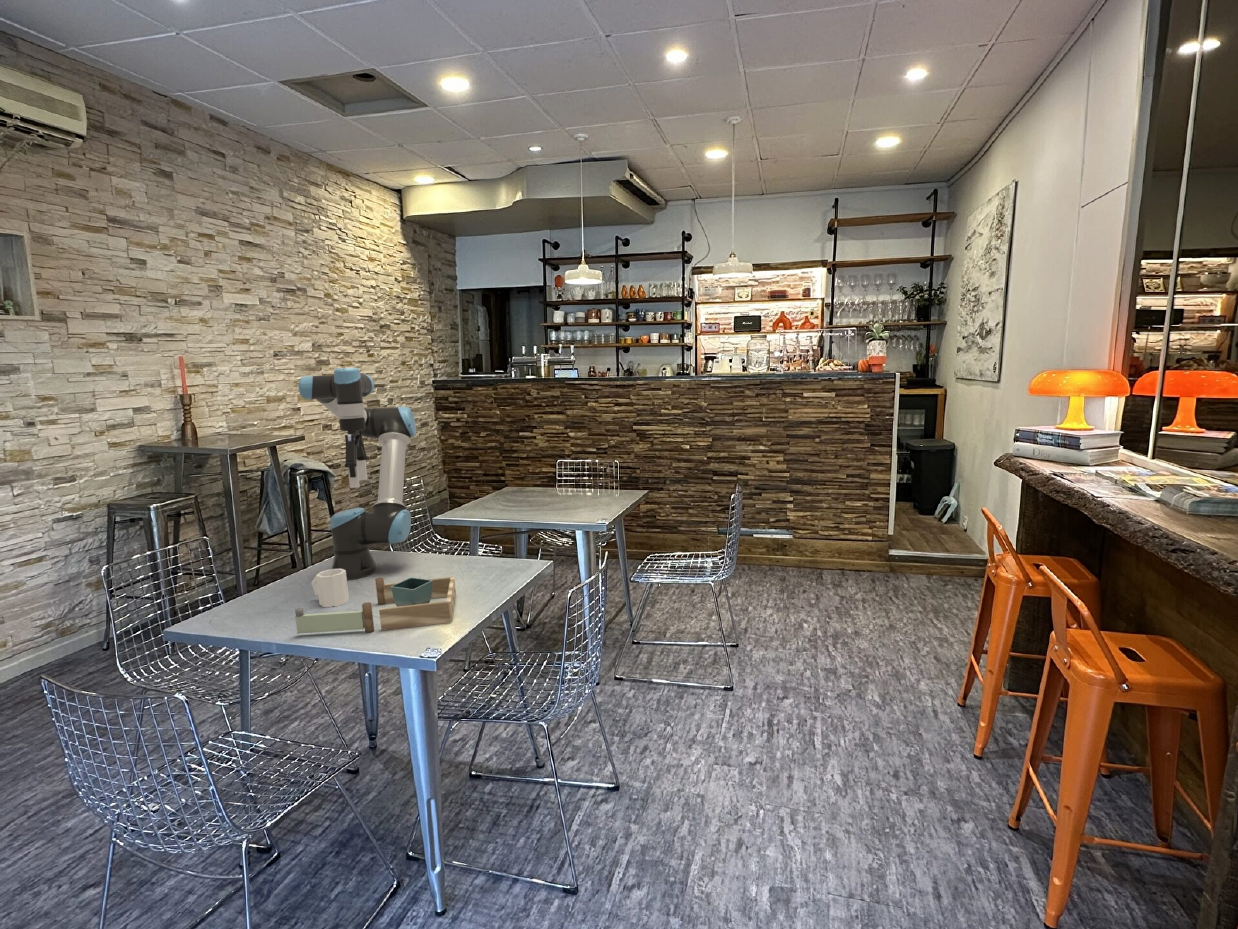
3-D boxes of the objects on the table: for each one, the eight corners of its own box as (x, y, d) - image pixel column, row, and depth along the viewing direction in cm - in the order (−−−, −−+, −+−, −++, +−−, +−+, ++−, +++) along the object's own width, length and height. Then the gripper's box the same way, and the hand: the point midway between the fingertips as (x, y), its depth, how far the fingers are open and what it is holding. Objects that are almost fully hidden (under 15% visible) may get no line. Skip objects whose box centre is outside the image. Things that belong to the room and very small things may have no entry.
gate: (365, 627, 182) (362, 604, 181) (362, 629, 180) (360, 606, 179) (299, 631, 181) (296, 608, 180) (296, 634, 179) (293, 610, 178)
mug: (354, 598, 208) (351, 569, 207) (334, 608, 200) (330, 578, 199) (325, 595, 212) (321, 567, 211) (304, 605, 204) (300, 575, 203)
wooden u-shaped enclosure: (378, 602, 204) (375, 578, 202) (456, 594, 208) (454, 570, 207) (364, 633, 180) (361, 606, 179) (452, 622, 184) (449, 596, 183)
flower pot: (436, 608, 197) (433, 579, 195) (416, 618, 189) (413, 589, 187) (413, 604, 200) (410, 577, 199) (392, 615, 192) (389, 586, 191)
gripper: (347, 415, 215) (354, 478, 218) (329, 421, 191) (337, 491, 194) (371, 413, 216) (377, 476, 219) (356, 419, 192) (364, 489, 195)
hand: (359, 483), depth 207 cm, fingers open, 13 cm apart
